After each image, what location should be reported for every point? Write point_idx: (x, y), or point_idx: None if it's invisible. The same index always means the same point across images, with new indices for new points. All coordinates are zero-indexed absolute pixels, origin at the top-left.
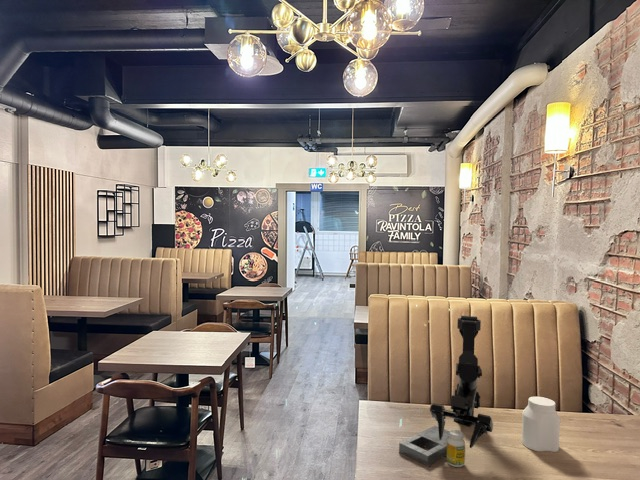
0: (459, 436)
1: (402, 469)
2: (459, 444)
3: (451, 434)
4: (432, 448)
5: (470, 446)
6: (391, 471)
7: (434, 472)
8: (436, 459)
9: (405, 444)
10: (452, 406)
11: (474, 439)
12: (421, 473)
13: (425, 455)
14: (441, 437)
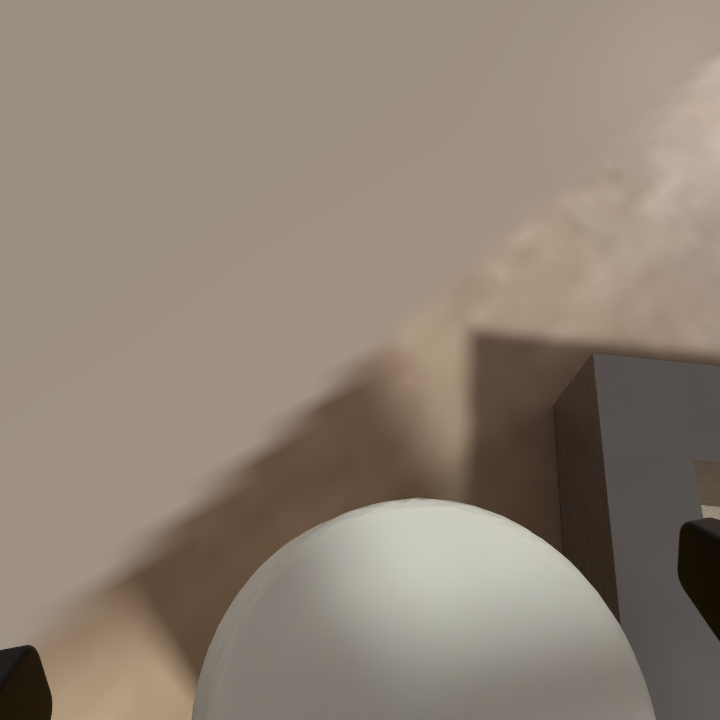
0: (265, 584)
1: (648, 216)
2: (260, 571)
3: (487, 514)
4: None
5: (8, 650)
6: (674, 151)
7: (436, 344)
8: None
9: None
10: None
11: None
12: (506, 260)
13: (631, 362)
14: (711, 597)
